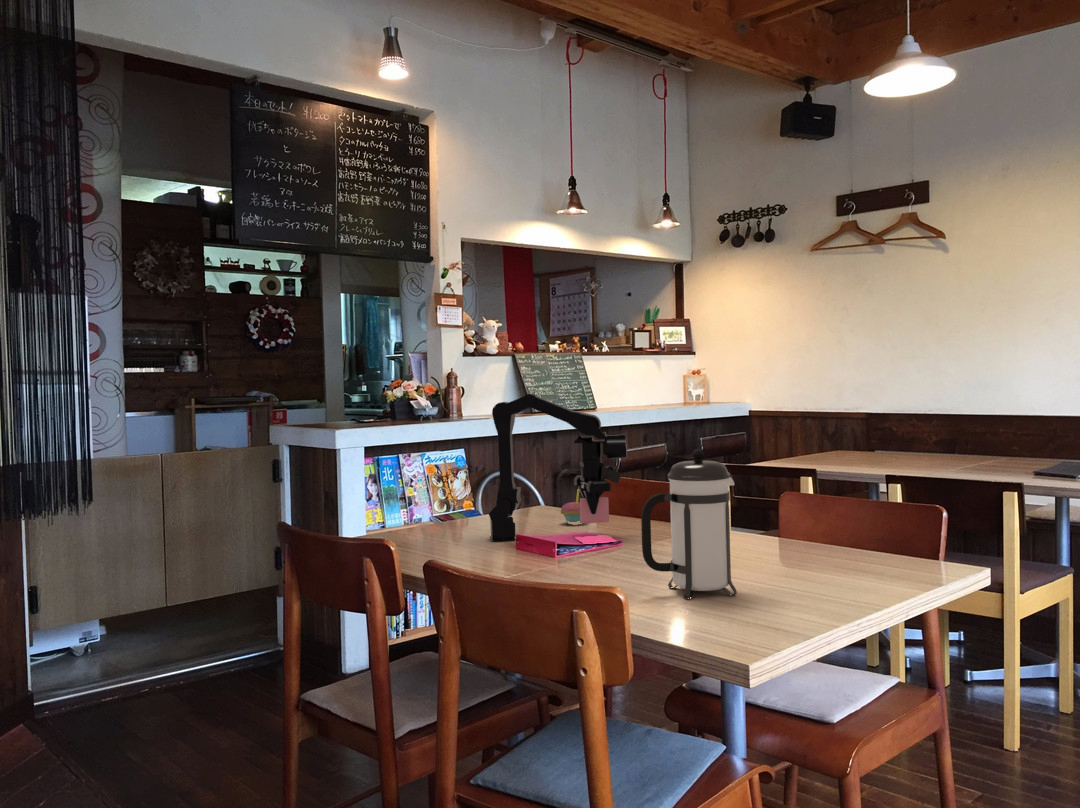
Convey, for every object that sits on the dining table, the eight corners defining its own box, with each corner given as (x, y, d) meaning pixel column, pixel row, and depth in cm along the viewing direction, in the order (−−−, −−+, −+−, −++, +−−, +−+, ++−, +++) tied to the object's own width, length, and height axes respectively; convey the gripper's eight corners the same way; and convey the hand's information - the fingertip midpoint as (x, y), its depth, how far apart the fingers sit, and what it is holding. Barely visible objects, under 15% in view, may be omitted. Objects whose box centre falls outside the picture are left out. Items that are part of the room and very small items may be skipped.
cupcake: (592, 523, 269) (591, 485, 268) (579, 527, 261) (578, 488, 261) (569, 521, 273) (568, 484, 273) (556, 525, 266) (554, 487, 266)
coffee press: (683, 579, 188) (680, 445, 187) (750, 589, 177) (747, 446, 177) (641, 596, 174) (637, 451, 174) (711, 607, 164) (707, 453, 163)
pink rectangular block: (581, 523, 239) (581, 498, 239) (580, 522, 241) (579, 498, 241) (608, 521, 241) (608, 497, 241) (607, 521, 242) (606, 496, 242)
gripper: (628, 460, 233) (629, 516, 233) (609, 455, 251) (610, 507, 251) (589, 462, 230) (590, 519, 231) (572, 456, 249) (574, 509, 249)
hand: (592, 513), depth 241 cm, fingers closed on pink rectangular block, 2 cm apart
